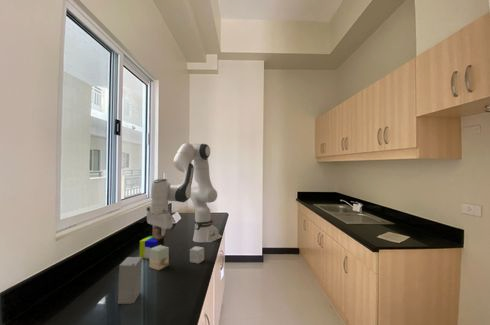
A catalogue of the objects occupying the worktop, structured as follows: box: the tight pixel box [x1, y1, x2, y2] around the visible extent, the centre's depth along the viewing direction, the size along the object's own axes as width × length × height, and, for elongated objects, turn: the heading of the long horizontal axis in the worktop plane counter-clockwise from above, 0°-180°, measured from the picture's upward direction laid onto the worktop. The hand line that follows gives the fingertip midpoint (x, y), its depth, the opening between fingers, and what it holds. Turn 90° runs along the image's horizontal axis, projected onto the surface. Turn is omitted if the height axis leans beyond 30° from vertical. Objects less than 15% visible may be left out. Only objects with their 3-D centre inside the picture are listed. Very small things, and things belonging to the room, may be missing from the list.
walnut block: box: [151, 226, 167, 239], centre depth 131 cm, size 5×5×5 cm
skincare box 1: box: [117, 256, 143, 305], centre depth 99 cm, size 8×7×16 cm
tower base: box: [148, 256, 170, 271], centre depth 131 cm, size 7×7×5 cm
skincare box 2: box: [189, 245, 205, 264], centre depth 139 cm, size 6×6×7 cm
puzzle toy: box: [139, 235, 165, 259], centre depth 148 cm, size 10×10×10 cm
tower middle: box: [148, 245, 170, 261], centre depth 132 cm, size 7×7×5 cm
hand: (159, 234), depth 132 cm, fingers closed on walnut block, 5 cm apart
